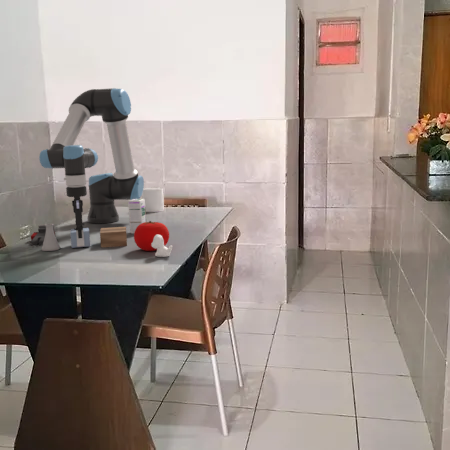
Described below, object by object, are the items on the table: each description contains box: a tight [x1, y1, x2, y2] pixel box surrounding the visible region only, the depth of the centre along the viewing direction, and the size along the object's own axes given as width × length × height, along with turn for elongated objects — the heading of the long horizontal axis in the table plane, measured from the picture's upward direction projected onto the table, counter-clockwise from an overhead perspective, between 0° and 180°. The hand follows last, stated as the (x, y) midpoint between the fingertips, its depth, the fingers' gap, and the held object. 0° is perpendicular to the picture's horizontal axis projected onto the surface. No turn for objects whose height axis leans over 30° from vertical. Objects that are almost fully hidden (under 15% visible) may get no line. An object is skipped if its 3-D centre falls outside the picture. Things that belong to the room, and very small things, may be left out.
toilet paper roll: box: [141, 186, 165, 213], centre depth 303 cm, size 12×12×12 cm
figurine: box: [151, 234, 173, 258], centre depth 198 cm, size 5×8×8 cm
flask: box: [41, 223, 62, 252], centre depth 214 cm, size 7×7×10 cm
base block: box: [99, 226, 128, 248], centre depth 221 cm, size 10×10×6 cm
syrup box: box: [127, 198, 147, 235], centre depth 243 cm, size 6×6×14 cm
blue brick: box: [69, 227, 91, 248], centre depth 218 cm, size 7×7×6 cm
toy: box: [30, 223, 57, 246], centre depth 230 cm, size 9×6×15 cm
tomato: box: [133, 220, 170, 252], centre depth 209 cm, size 12×13×11 cm
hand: (80, 243), depth 219 cm, fingers closed on blue brick, 7 cm apart
